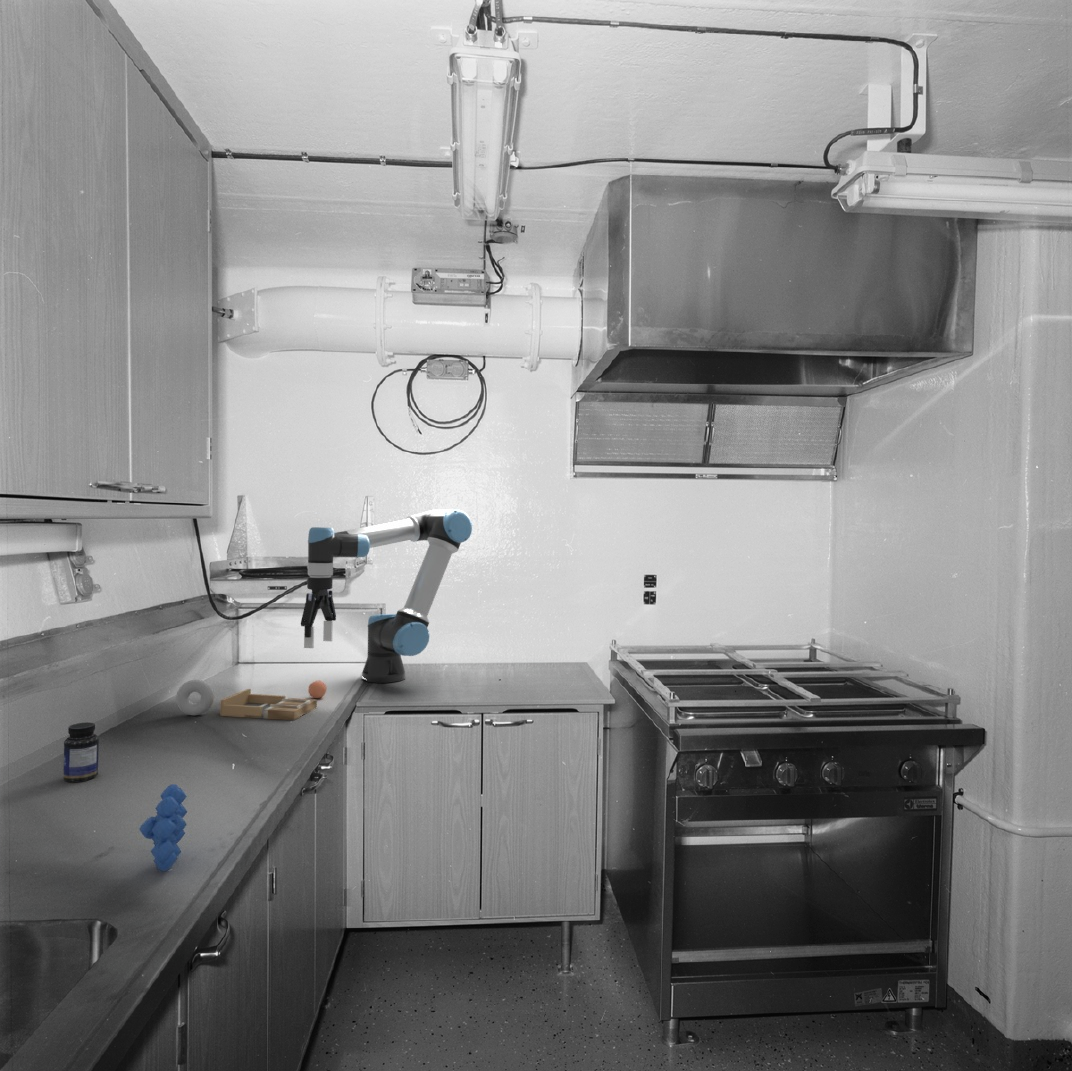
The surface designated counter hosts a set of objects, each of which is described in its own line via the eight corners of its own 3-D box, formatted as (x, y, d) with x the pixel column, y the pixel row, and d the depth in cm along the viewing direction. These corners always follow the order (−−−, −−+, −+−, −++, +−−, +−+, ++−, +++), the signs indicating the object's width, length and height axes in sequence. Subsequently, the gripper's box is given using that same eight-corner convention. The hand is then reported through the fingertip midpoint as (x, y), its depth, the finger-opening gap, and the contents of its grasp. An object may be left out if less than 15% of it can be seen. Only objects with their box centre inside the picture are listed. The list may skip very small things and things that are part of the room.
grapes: (148, 849, 114) (149, 776, 114) (193, 845, 116) (194, 773, 116) (127, 884, 103) (129, 804, 103) (178, 879, 105) (179, 800, 105)
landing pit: (247, 703, 209) (247, 689, 209) (288, 706, 208) (288, 691, 208) (220, 715, 195) (220, 700, 195) (263, 718, 194) (263, 702, 194)
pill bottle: (67, 774, 148) (68, 722, 148) (101, 771, 150) (102, 720, 150) (59, 784, 142) (60, 730, 142) (94, 781, 144) (95, 728, 144)
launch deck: (288, 706, 208) (288, 695, 208) (316, 707, 206) (316, 697, 206) (263, 718, 194) (263, 707, 194) (294, 720, 192) (294, 709, 192)
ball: (312, 695, 221) (313, 678, 221) (329, 696, 220) (329, 679, 220) (305, 699, 216) (305, 682, 216) (321, 700, 215) (322, 683, 215)
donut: (215, 713, 198) (216, 678, 198) (211, 716, 194) (212, 680, 194) (178, 713, 196) (178, 678, 196) (173, 717, 193) (174, 681, 193)
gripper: (325, 573, 230) (324, 638, 230) (289, 578, 206) (288, 650, 206) (347, 574, 229) (345, 639, 230) (314, 579, 205) (312, 651, 205)
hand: (318, 644), depth 218 cm, fingers open, 13 cm apart
